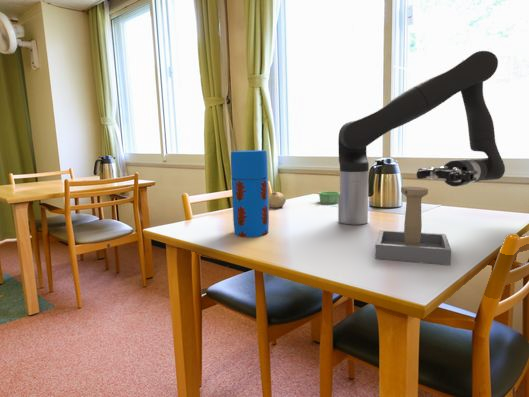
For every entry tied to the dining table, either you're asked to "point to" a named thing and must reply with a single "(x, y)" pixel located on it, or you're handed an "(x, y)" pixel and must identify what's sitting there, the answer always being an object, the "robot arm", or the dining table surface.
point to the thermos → (250, 193)
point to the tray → (413, 248)
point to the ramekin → (329, 197)
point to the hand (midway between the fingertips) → (433, 176)
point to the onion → (276, 200)
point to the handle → (413, 214)
